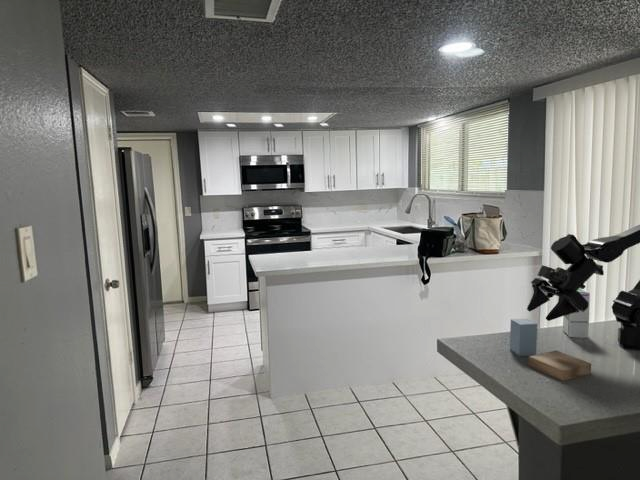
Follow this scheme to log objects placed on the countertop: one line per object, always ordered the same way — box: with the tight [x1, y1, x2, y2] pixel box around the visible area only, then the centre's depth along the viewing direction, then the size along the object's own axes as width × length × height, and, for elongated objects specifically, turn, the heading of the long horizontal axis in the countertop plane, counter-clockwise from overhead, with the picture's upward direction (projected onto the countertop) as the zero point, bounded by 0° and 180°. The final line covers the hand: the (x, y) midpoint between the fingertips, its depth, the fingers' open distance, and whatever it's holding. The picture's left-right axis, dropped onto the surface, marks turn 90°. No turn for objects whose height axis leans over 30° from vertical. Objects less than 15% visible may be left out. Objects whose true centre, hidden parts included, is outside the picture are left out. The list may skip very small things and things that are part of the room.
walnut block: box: [528, 350, 592, 382], centre depth 112 cm, size 10×10×3 cm
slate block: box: [509, 317, 538, 357], centre depth 124 cm, size 5×5×9 cm
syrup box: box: [562, 288, 591, 339], centre depth 137 cm, size 6×6×14 cm
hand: (537, 314), depth 124 cm, fingers open, 9 cm apart
